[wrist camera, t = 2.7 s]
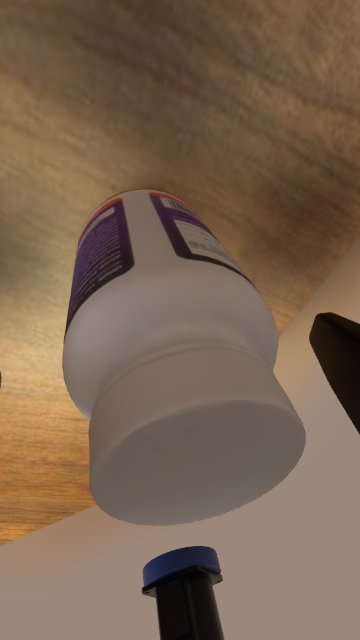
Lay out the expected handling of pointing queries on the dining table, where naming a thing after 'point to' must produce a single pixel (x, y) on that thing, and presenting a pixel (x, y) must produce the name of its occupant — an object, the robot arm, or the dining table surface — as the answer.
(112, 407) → the pill bottle
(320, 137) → the dining table surface
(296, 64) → the dining table surface
